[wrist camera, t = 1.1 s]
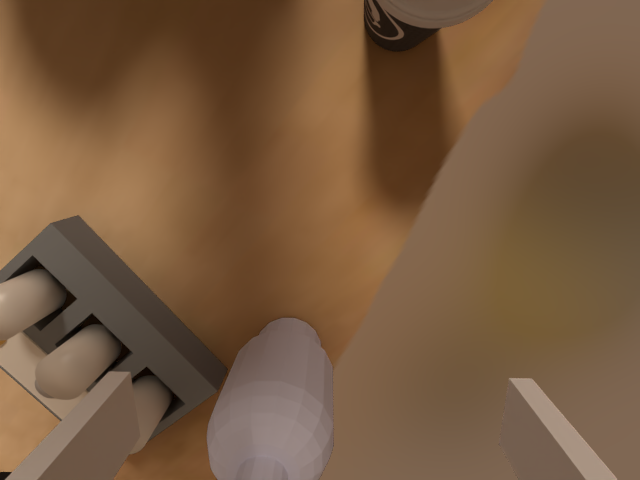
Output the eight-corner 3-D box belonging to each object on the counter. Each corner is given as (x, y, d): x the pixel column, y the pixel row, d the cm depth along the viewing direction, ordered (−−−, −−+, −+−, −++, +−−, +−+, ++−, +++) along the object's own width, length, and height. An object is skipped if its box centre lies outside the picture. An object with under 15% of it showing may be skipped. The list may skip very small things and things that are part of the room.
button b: (68, 340, 40) (24, 374, 34) (98, 315, 39) (57, 345, 33) (101, 370, 41) (63, 408, 35) (130, 347, 40) (96, 382, 34)
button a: (11, 286, 39) (-45, 312, 33) (41, 260, 38) (-12, 281, 32) (46, 319, 39) (-3, 350, 34) (75, 294, 39) (30, 320, 33)
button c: (121, 390, 42) (88, 430, 36) (151, 367, 41) (121, 405, 35) (151, 418, 42) (123, 462, 37) (181, 397, 42) (157, 438, 36)
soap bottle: (280, 396, 45) (225, 674, 21) (227, 333, 43) (104, 564, 19) (350, 355, 43) (374, 607, 20) (299, 287, 41) (258, 479, 18)
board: (-19, 304, 43) (-58, 323, 38) (78, 215, 39) (47, 224, 35) (130, 440, 47) (110, 470, 43) (227, 369, 44) (216, 394, 40)
